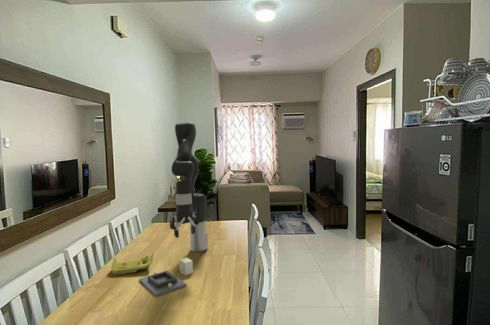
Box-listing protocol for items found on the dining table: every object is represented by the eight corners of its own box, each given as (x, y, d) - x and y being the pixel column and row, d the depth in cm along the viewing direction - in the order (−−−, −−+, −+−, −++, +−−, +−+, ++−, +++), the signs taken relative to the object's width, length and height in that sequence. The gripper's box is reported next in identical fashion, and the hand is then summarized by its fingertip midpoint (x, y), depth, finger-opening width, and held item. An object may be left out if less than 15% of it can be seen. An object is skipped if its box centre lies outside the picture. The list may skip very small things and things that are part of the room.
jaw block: (186, 269, 150) (186, 257, 150) (192, 272, 146) (192, 260, 145) (179, 271, 148) (179, 259, 148) (185, 275, 143) (185, 263, 143)
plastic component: (109, 271, 144) (114, 255, 152) (113, 281, 147) (117, 265, 156) (152, 265, 146) (154, 250, 155) (154, 275, 150) (156, 260, 158)
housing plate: (167, 272, 147) (167, 266, 147) (186, 286, 132) (186, 279, 132) (139, 280, 138) (139, 275, 138) (155, 296, 123) (155, 289, 123)
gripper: (193, 199, 152) (194, 231, 153) (166, 203, 143) (167, 236, 144) (200, 201, 146) (201, 234, 147) (173, 205, 138) (175, 240, 138)
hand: (185, 235), depth 146 cm, fingers open, 8 cm apart
